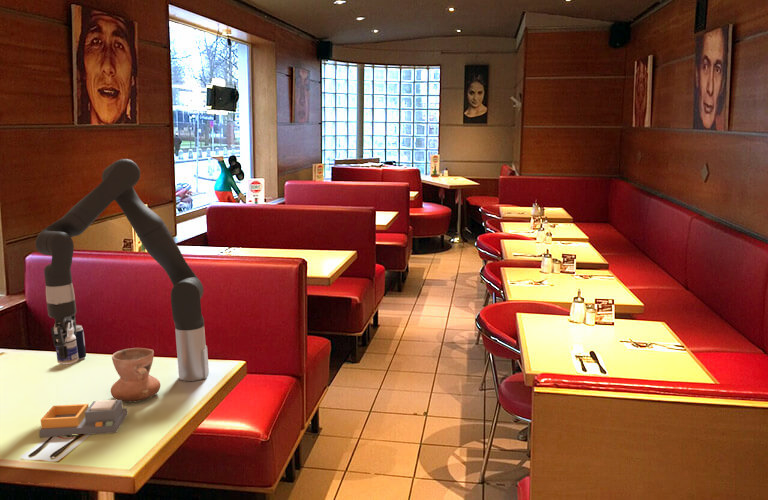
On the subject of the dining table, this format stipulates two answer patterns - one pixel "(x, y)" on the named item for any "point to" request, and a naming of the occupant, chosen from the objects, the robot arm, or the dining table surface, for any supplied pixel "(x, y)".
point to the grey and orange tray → (81, 420)
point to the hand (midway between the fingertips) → (67, 354)
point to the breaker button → (103, 405)
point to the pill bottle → (69, 349)
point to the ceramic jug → (134, 375)
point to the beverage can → (80, 342)
